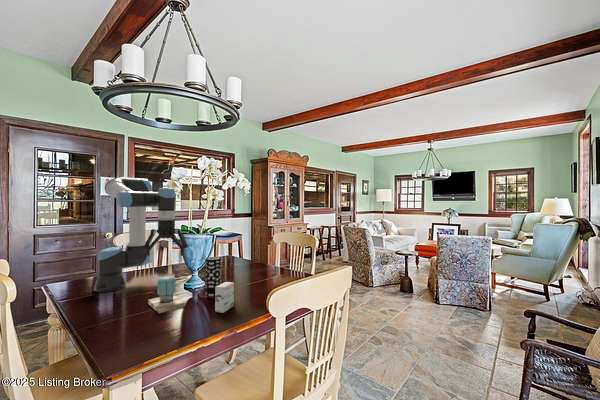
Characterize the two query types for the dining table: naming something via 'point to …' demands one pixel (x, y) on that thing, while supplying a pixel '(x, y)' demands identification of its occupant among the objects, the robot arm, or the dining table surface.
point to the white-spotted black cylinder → (212, 275)
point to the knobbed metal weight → (166, 298)
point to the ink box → (224, 297)
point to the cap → (166, 285)
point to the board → (166, 304)
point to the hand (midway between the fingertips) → (166, 262)
